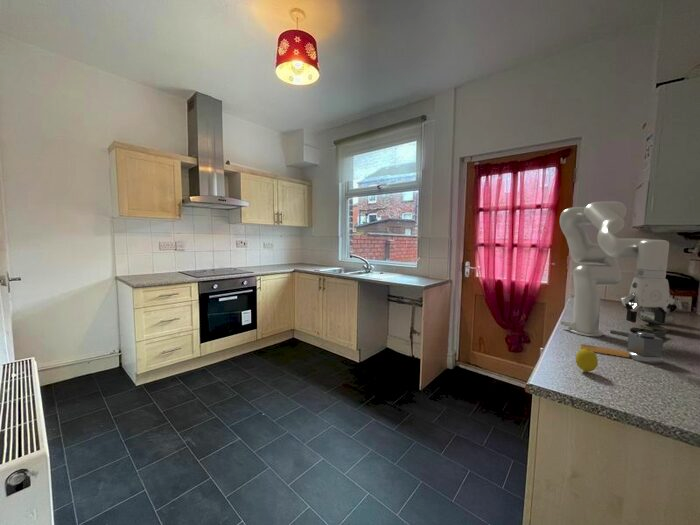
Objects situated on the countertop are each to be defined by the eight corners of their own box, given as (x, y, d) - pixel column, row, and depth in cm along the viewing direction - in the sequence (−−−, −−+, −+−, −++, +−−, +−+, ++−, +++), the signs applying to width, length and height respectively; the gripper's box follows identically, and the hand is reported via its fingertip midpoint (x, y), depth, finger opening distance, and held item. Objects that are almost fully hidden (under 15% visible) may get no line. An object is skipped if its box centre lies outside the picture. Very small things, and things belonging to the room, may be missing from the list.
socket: (643, 357, 103) (644, 336, 102) (627, 350, 109) (628, 330, 109) (661, 357, 103) (663, 336, 102) (644, 350, 109) (646, 330, 108)
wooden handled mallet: (582, 352, 112) (582, 340, 112) (579, 345, 120) (580, 334, 119) (665, 366, 100) (667, 352, 99) (657, 357, 107) (658, 344, 107)
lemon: (598, 377, 92) (600, 352, 91) (575, 373, 95) (577, 349, 94) (595, 371, 96) (596, 347, 96) (574, 367, 99) (575, 344, 99)
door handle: (604, 330, 133) (654, 338, 119) (622, 324, 143) (669, 331, 129) (604, 337, 133) (654, 347, 119) (622, 331, 143) (670, 338, 129)
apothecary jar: (641, 330, 140) (644, 292, 139) (633, 323, 151) (636, 289, 149) (677, 334, 134) (680, 295, 133) (667, 327, 144) (670, 291, 143)
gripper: (634, 276, 100) (629, 324, 102) (687, 276, 100) (681, 325, 101) (615, 272, 108) (611, 318, 110) (665, 273, 107) (659, 318, 109)
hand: (645, 321), depth 106 cm, fingers open, 9 cm apart
